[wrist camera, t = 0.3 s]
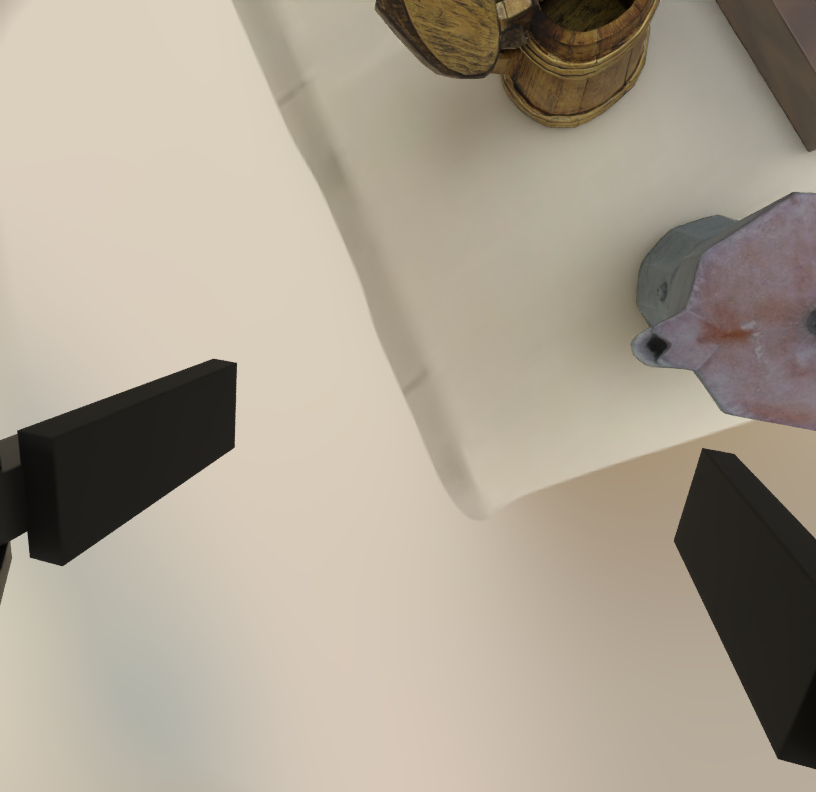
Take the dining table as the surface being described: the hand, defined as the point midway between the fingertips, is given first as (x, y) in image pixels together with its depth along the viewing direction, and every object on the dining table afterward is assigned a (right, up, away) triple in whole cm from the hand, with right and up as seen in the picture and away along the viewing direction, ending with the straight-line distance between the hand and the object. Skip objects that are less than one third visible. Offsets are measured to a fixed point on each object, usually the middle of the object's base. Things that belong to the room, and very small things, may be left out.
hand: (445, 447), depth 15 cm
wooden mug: (+8, +23, +21) cm, 32 cm away
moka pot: (+19, +9, +22) cm, 31 cm away
